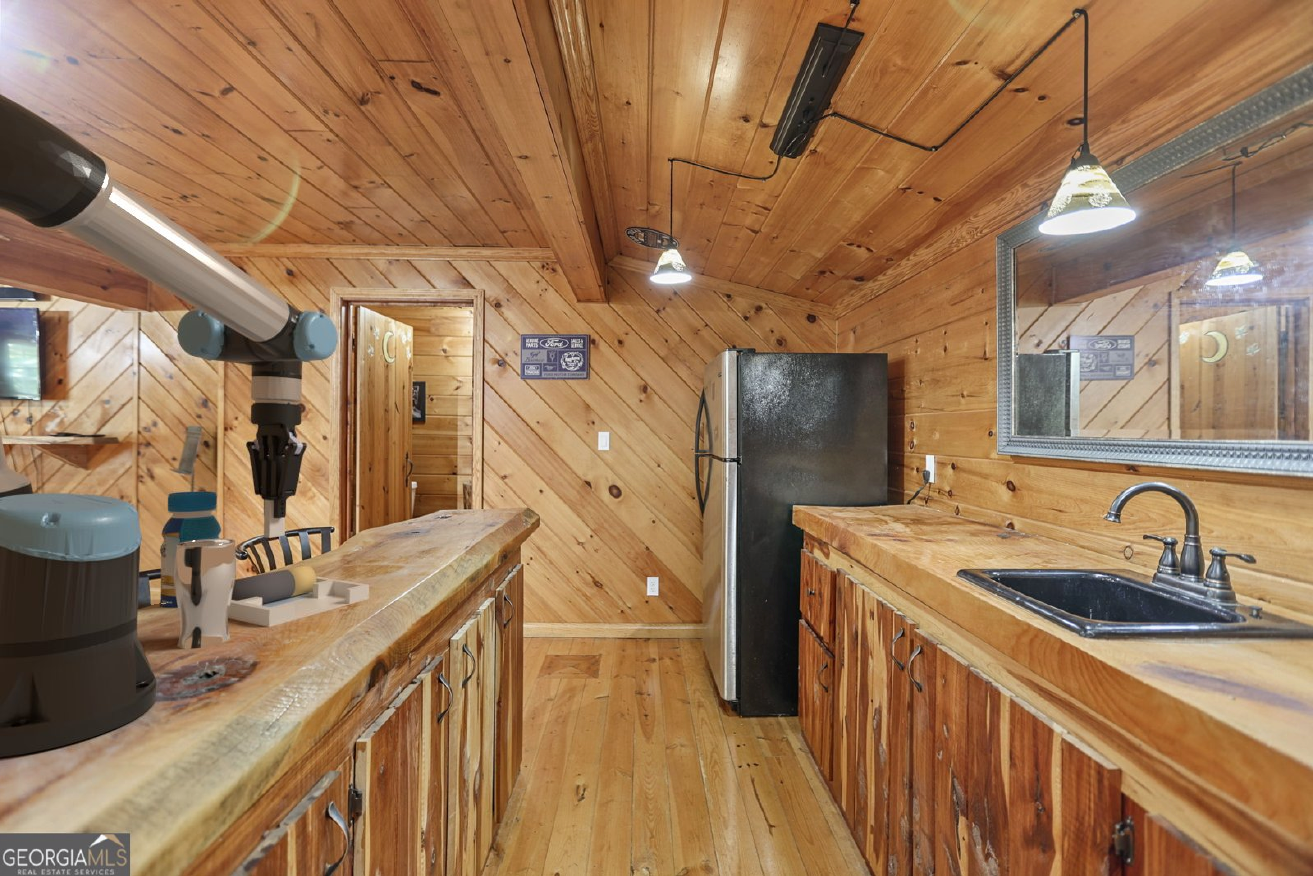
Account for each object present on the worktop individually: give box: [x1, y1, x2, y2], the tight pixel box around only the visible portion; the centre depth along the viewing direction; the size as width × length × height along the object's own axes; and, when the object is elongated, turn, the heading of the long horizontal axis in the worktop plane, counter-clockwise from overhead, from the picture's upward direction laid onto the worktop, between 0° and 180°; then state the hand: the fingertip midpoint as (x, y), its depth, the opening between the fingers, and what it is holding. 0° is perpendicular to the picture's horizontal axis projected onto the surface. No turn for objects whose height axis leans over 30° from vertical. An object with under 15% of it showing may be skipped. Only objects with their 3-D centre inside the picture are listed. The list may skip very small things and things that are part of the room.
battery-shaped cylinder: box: [231, 565, 317, 604], centre depth 103 cm, size 13×5×5 cm, turn 157°
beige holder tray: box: [228, 575, 370, 628], centre depth 101 cm, size 18×18×4 cm
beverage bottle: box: [159, 490, 222, 609], centre depth 102 cm, size 8×8×20 cm
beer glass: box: [174, 538, 237, 650], centre depth 82 cm, size 7×7×15 cm
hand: (274, 536), depth 103 cm, fingers closed
